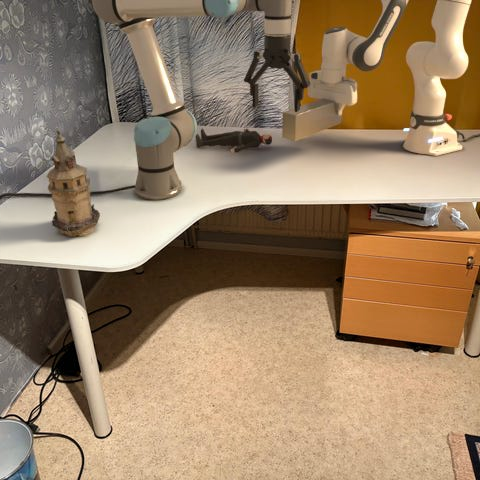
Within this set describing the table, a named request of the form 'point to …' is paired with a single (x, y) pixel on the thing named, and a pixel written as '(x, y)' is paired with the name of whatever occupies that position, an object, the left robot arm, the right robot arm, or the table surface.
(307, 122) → the box
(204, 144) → the toy
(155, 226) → the table surface
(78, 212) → the miniature building
